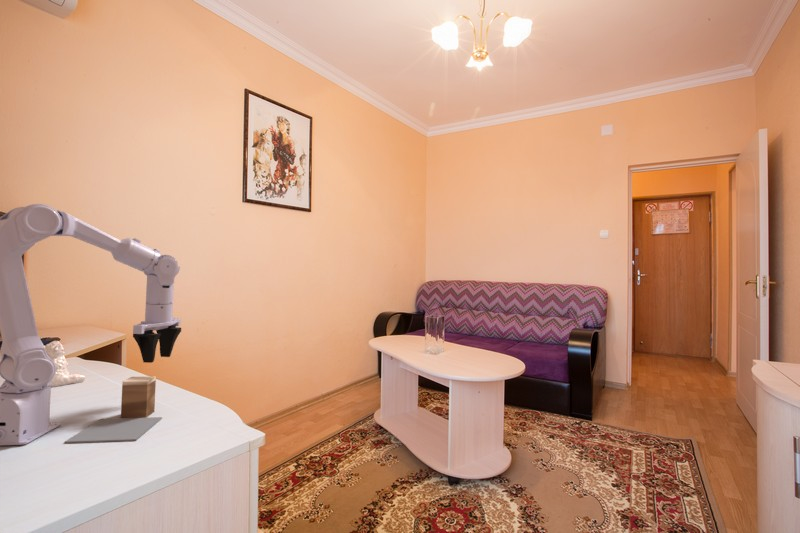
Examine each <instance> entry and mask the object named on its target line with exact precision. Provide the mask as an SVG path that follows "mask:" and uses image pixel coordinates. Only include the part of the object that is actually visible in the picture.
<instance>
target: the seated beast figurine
mask: <svg viewBox="0 0 800 533" xmlns="http://www.w3.org/2000/svg"><path fill="white" fill-rule="evenodd" d="M44 347H45V350H46V354H47V356H48V357H49V358H50V359H51V360H53V362H54V363H55V366H56V372H55V375H54V377H53V378H52V380H51V388H55V386H56V387H60V386H61V387H62V386H68V385H69V386H70V385H75V384H79V383H83V382H84V381H85V378H86V377H85V375H83V374H79V373H78V372H77V373H76V372H75V373H72V374H70V372H69V370H68V366H69V363H68V361H67V359H66V357H65V354H66V352H65V348H64V346H63V344H62V343H61V342H60V341H59V340H53V341H51V342H49V343H47V344H45V345H44Z"/></svg>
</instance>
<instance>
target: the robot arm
mask: <svg viewBox="0 0 800 533" xmlns="http://www.w3.org/2000/svg"><path fill="white" fill-rule="evenodd" d="M50 237H71V238H74V239H76V240H80V241H82V242H84V243H87V244H90V245H92V246H94V247H97V248H99V249H101V250H105V251H107V252H110V253H111V255H112V257H113V260H114V261H117V262H118V263H121V264H123V265H127V266H128V267H130V268H133V269H135V270H138V271H140V272H142V273H144V275H145V276H146V288H145V290H146V291H145V313H144V320H142V321H140V323H138V324H134V325H133V326H132V337H133V339H134V340H135V342H136V343H137V346H138V348H139V350H140V354H141V358H142V362H143V363H148V364H151V363H154V361H155V358H156V351H157V345H158V343H159V355H160V357H161V358H170V357H171V356H172V351H173V349H174V346H175V343H176V340H177V338H178V337H179V335H180V333H181V332H182V327H180V326H181V322H182V319H181V318H176V317H174V318H173V316H174V315H173V313H174V294H175V292H174V291H175V278H176V276H177V275H178V273H179V272H180V270H181V269H180V268H181V266H179V265H178V261H177V260H176V258H175V257H174V256H172V255H170V254H161V250H159V249H157V248H154V249H153V248H151V247H149V246H146V245H145V244H142V243H141V242H142V240H140V239H138V238H135V237H134V238H130V237H126V238H122V239H119V238H117V237H115V236H113V235H112V234H109V233H107V232H105V231H103V230H102V229H99V228H97V227H96V226H93V225H91V224H89V223H87V222H86V221H83V220H81V219H80V218H78V217H76V216H74V215H72V214H70V213H68V212H65V211H62V210H60V209H58V210H56V209H55V208H53V206H50V205H47V204H43V203H34V204H29V205H26V206H18V207H15V208H13V209H11V210H9V211H8V212H6V213H4V214H3V215H1V216H0V335H1V341H2V343H1V345H0V353H1V357H0V358H1V359H0V377H1V378H2V379H3V380H4V381H3V382H2V384H1V385H0V446H19V445H20V446H22V445H26V444H29V443H30V442H32V441H34V440H36V439H38V438H39V437H41V436H43V435H46V434H47V433H49V432H50V431H52V430H54V429H55V428H58V427H60V426H61V422H50V415H51V413H50V412H51V396H52V395H51V394H52V387H51V380H52V378H53V377H54V375H55V372H56V366H55V363H54V362H53V360H51V359H50V358H49V357H48V356H47V354H46V350H45V347H44V346H45V345H44V343H43V342H42V340H41V338H40V336H39V332H38V327H37V322H36V319H35V318H36V317H35V313H34V310H33V309H34V308H33V304H32V299H31V295H30V291H29V286H28V280H27V276H26V271H25V267H24V263H23V262H24V261H23V258H22V257H23V255H24V254H25V253H26V252H28V251H29V250H30V249H31V248H32V247H33V246H35V244H37V243H39V242H40V241H44V240H45V239H48V238H50ZM155 331H156V333H155Z"/></svg>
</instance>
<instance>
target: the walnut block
mask: <svg viewBox="0 0 800 533" xmlns="http://www.w3.org/2000/svg"><path fill="white" fill-rule="evenodd" d="M156 378H157V376H155V375H154V376H131V377H129V378H127V379H125V380H123V381H122V382H121V384H122V387H121V406H120V418H149V417H150V416H151V415H152V414H153V413H155V405H156V384H157V383H156V382H157V380H156Z"/></svg>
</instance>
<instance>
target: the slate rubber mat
mask: <svg viewBox="0 0 800 533" xmlns="http://www.w3.org/2000/svg"><path fill="white" fill-rule="evenodd" d="M162 419H163V417H160V416H159V417H152V416H151V417H147V418H121V417H120V418H119V417H118V418H100V419H98V420H97V421H95V422H94V423H92V424H90V425H88V426H87V427H86V428H84V429H83V430H81V431H79V432H78V433H76V434H74V435H73V436H72V437H70V438H68V439H67V440H65V441H64V444H78V443H80V444H81V443H82V444H83V443H105V442H106V443H107V442H136V441H137V440H138V439H140V438H141V437H142V436H144V435H145V434H146V433H147V432H149V430H151V429H152V428H153V427H154V426H155V425H156V424H157V423H159V422H160V421H161V420H162Z"/></svg>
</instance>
